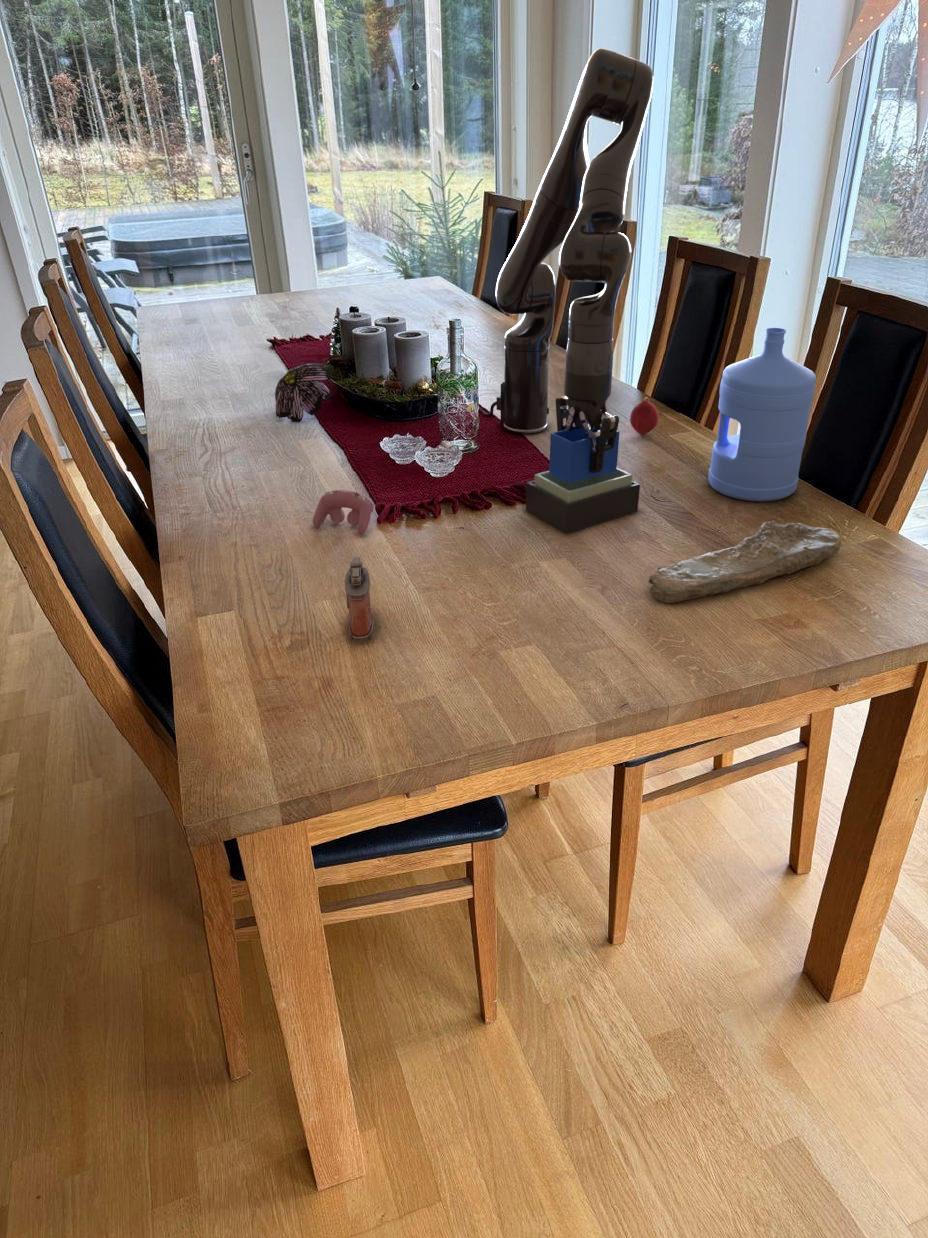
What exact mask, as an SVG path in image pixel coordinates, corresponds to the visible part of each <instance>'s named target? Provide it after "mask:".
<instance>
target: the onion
mask: <svg viewBox="0 0 928 1238" xmlns="http://www.w3.org/2000/svg"><path fill="white" fill-rule="evenodd" d="M629 423H630V425H631V428H633V430H634V431H635V432H636V433H638V434H639V435H640V436H645V435H647V434H648V433H650V432H651V431H653V430H654V429H655V428H656V426H657V425H658V423H659V412H658V409H657V408H656V406H655V405H654V404H653V403H651V402H650V398H649V397H647V396H646V397H644V398H643V400H642V401H641V402H639V403H637V404H636V405H635V406H634V407H633V408H632V410H631V412H630V417H629Z"/></svg>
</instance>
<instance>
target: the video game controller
mask: <svg viewBox="0 0 928 1238" xmlns="http://www.w3.org/2000/svg"><path fill="white" fill-rule="evenodd" d="M345 508H346V509H351V511H349V512H348V514H347V516H346V515H345V512H344V510H343V509H345ZM374 508H375V504H374V502H373V500H372V499H370V498H369V497H367V496H365V495H364V494H363V493H360V492H358V491H354V490H348V489H337V490H336V489H335V490H330V491H326V492H325V493H324V494H323V495H322V496H321V497H320V499H319V501H318V503H317V506H316V508H315V511H314V514H313V517H312V524H313V527H314V528H316V529H318V528H320V527H321V526H322V525H323V523H324V522H325V520H326V518H327V517H328V515H329V518H330V520H331V522H333V523H336V524H340V523H343V522H344V520H345V518H346V521H347V523H348V524H349V525H351V526H357V532H358V534H359V535H363V534H364V533H365V532H366V531H367V529H368V528H369V525H370V523H371V518H372V517H371V516H372V514H373V512H374Z"/></svg>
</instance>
